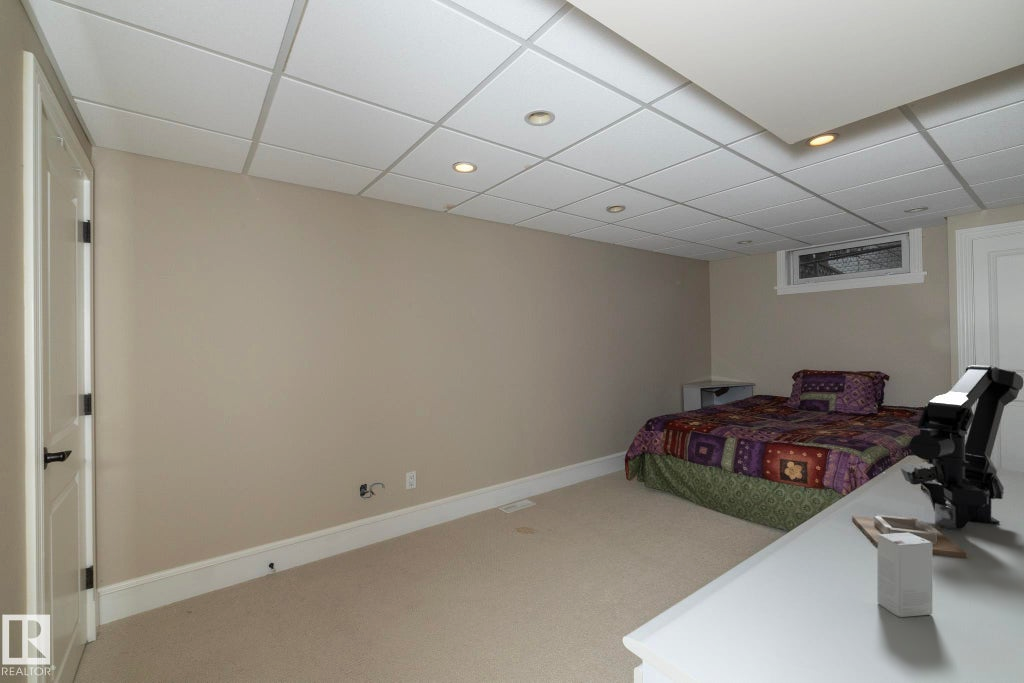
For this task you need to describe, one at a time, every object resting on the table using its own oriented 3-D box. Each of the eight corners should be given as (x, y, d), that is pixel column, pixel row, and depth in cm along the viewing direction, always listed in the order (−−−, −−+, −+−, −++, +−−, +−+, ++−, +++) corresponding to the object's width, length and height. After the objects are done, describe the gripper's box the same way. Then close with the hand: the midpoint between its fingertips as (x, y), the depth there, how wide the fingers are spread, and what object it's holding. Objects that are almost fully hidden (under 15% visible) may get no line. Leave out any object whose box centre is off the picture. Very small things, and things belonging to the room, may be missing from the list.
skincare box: (907, 600, 77) (907, 530, 77) (934, 616, 73) (934, 542, 73) (875, 603, 77) (874, 532, 77) (900, 619, 72) (900, 544, 72)
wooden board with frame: (852, 519, 111) (852, 507, 111) (929, 528, 106) (929, 515, 106) (876, 546, 97) (876, 532, 97) (966, 558, 92) (966, 543, 92)
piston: (931, 522, 109) (931, 501, 109) (954, 524, 108) (954, 503, 108) (940, 529, 105) (940, 508, 105) (965, 532, 104) (965, 510, 103)
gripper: (889, 443, 118) (889, 502, 118) (924, 461, 100) (924, 531, 101) (943, 446, 114) (943, 507, 114) (990, 466, 96) (990, 539, 97)
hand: (948, 520), depth 106 cm, fingers open, 9 cm apart
